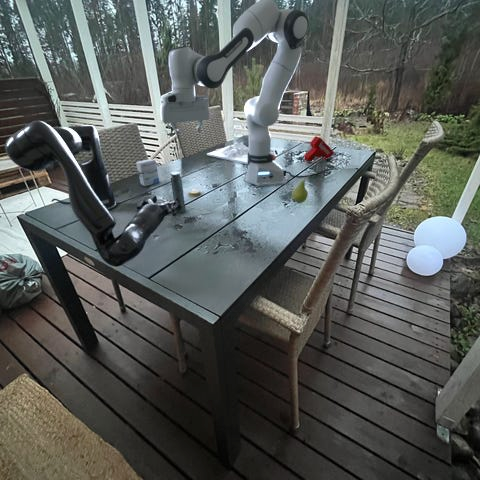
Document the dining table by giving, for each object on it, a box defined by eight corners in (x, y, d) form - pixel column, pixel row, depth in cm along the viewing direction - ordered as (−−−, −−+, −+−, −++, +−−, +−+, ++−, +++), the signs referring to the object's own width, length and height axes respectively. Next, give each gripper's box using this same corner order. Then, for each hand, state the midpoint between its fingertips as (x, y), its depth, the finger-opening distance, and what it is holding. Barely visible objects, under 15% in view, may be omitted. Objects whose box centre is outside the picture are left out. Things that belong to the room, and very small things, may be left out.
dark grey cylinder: (174, 210, 115) (168, 172, 106) (184, 208, 117) (179, 170, 108) (177, 214, 112) (171, 175, 103) (186, 212, 113) (181, 174, 104)
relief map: (248, 164, 168) (248, 156, 165) (206, 155, 186) (206, 147, 183) (271, 154, 186) (271, 146, 183) (231, 147, 204) (231, 140, 201)
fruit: (288, 200, 123) (290, 174, 116) (302, 197, 125) (305, 172, 119) (296, 206, 118) (299, 179, 111) (310, 203, 120) (314, 177, 114)
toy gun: (305, 158, 165) (319, 136, 162) (300, 157, 168) (315, 135, 166) (320, 172, 177) (334, 152, 174) (316, 170, 180) (329, 151, 177)
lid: (197, 197, 127) (196, 193, 126) (187, 195, 128) (186, 192, 128) (201, 193, 131) (201, 189, 130) (192, 191, 132) (191, 188, 132)
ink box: (155, 180, 146) (151, 158, 140) (159, 182, 143) (156, 160, 136) (140, 184, 141) (135, 161, 134) (145, 186, 138) (140, 163, 131)
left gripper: (167, 211, 83) (184, 190, 97) (124, 208, 85) (146, 187, 98) (170, 231, 87) (186, 208, 101) (129, 228, 89) (150, 206, 103)
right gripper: (205, 94, 114) (207, 129, 121) (156, 96, 105) (162, 134, 113) (211, 95, 109) (213, 131, 116) (160, 98, 101) (166, 137, 108)
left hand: (166, 198), depth 100 cm, fingers open, 8 cm apart
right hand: (188, 133), depth 115 cm, fingers open, 8 cm apart
